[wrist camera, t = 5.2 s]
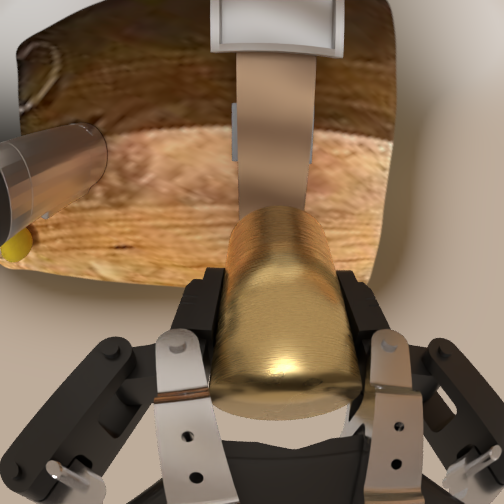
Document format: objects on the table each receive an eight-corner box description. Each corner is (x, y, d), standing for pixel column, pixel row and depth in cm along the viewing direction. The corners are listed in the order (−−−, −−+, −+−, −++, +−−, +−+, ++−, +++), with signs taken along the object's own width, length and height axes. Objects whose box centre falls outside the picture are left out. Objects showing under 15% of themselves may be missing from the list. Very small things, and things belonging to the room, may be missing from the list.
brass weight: (317, 283, 14) (338, 416, 8) (231, 281, 14) (216, 418, 8) (333, 207, 11) (387, 361, 5) (227, 204, 11) (195, 364, 6)
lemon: (18, 231, 36) (-9, 252, 29) (26, 212, 34) (-4, 233, 27) (35, 252, 38) (9, 276, 31) (43, 235, 36) (15, 259, 29)
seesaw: (306, 273, 32) (310, 302, 28) (228, 271, 32) (224, 300, 29) (332, -31, 11) (346, -48, 8) (218, -36, 12) (208, -55, 8)
